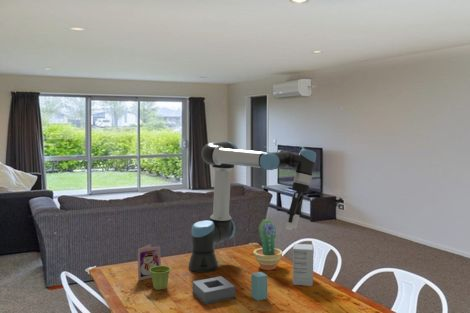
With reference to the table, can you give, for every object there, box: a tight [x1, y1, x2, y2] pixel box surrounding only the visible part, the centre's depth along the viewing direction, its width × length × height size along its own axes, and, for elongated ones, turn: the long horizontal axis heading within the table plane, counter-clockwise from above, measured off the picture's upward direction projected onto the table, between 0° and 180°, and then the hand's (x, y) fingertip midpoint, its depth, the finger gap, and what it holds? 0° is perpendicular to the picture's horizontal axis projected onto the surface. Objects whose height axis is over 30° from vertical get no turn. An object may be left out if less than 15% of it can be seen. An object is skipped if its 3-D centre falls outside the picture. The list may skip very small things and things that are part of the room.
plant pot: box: [150, 265, 171, 291], centre depth 191 cm, size 9×9×9 cm
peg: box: [250, 271, 268, 301], centre depth 179 cm, size 5×5×10 cm
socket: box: [192, 276, 236, 305], centre depth 182 cm, size 14×14×5 cm
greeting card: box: [137, 243, 162, 281], centre depth 205 cm, size 11×7×15 cm, turn 123°
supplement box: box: [292, 243, 314, 287], centre depth 196 cm, size 10×9×17 cm
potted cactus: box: [252, 218, 284, 271], centre depth 217 cm, size 15×15×25 cm
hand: (291, 229), depth 191 cm, fingers open, 13 cm apart
